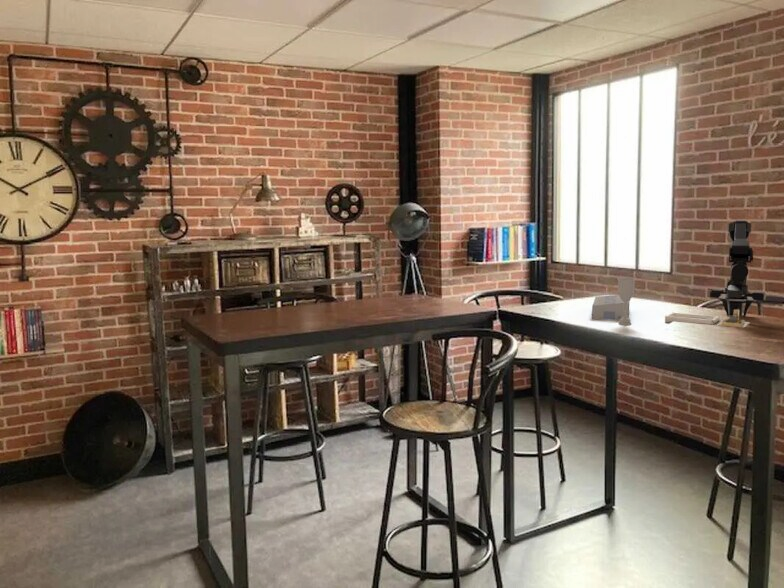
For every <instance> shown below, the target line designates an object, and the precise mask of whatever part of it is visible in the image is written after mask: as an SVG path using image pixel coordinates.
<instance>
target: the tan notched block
mask: <svg viewBox="0 0 784 588" xmlns="http://www.w3.org/2000/svg"><path fill="white" fill-rule="evenodd" d="M733 315H737V318H736V319H735V323H734V322H729V320H730V318H725V319H723V320H721V321H722V322H721V321H720V322H721V325H720V326H722V325H725V326H724V327H733V326H737V327H736V328H741V327H740V326H742V325H743V324H744V323H745V322H746V321H745V319H740V316H739V310H738V309H735V310H734V314H733Z"/></svg>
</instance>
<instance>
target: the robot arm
mask: <svg viewBox="0 0 784 588" xmlns="http://www.w3.org/2000/svg"><path fill="white" fill-rule="evenodd" d="M727 228H728V229H727V234H729V240H730V241H731V246H729V247H728V263H731V264H730V278H729V279H728V282H727V284H726V287H725V288H724V289H721V288H713V289H711V290H710V291H709V297H710V298H717V299H718V301H721V302H722V304H723V307H724V309H725V312H726V314H725V316H727V317H730V316H732V315H733V314H734V310H735V309H738V310H739V317H743V318H746V316H747V314H748V311H749V309H750V307H751V305H752V304H753V303H755V302H757V301H760V302H761V301H765V300H766V298H767V297H766V295H767V293H766V292H765V291H753V292H750V291H749V285H747V283H748V275H749V272H750V271H749V267H748V266H749V265H748V264H749V263H750V264H752V262H753V261H754V250H753V248H752V246H751V245H750V242H749V241H748V239H749V236H750V235H751V232H752V223H751V222H748V221H747V220H733V222H730V223H728V227H727ZM744 304H745V305H744ZM743 310H744V311H743Z"/></svg>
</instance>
